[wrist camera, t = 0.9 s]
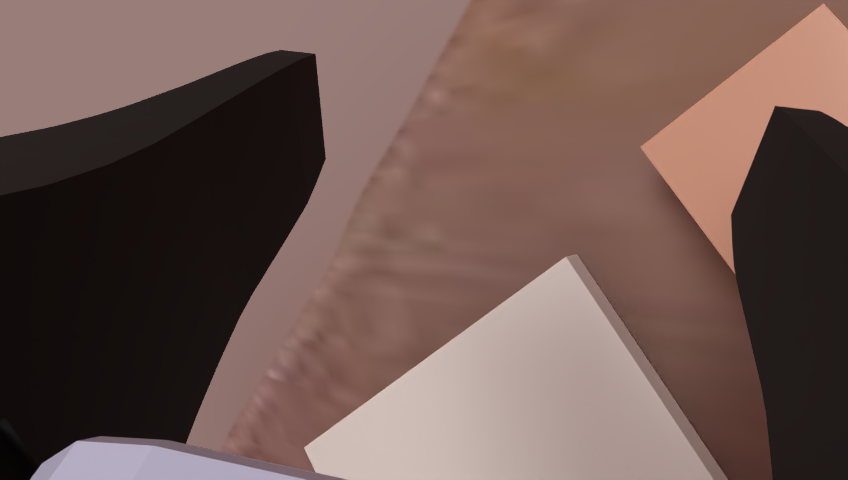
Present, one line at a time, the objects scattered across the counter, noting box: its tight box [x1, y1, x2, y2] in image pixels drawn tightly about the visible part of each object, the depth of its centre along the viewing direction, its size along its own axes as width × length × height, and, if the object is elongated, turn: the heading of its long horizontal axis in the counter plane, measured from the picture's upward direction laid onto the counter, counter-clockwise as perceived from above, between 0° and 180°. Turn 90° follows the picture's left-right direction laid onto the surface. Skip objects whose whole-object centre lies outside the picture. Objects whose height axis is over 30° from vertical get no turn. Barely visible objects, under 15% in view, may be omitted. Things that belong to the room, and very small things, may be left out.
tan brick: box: [641, 4, 848, 275], centre depth 18 cm, size 6×6×4 cm
